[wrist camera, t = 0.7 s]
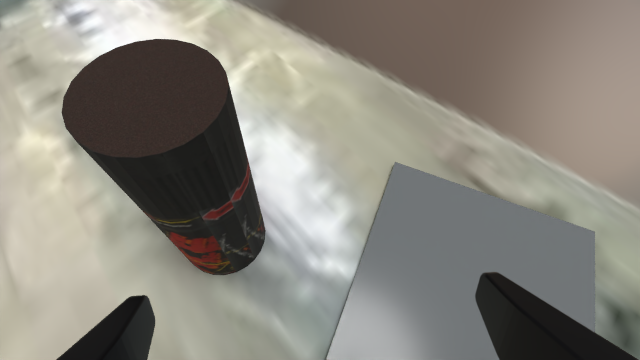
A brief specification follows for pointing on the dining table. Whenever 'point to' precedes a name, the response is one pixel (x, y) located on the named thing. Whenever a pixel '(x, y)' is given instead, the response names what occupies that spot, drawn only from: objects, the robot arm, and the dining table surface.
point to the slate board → (454, 270)
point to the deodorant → (172, 146)
